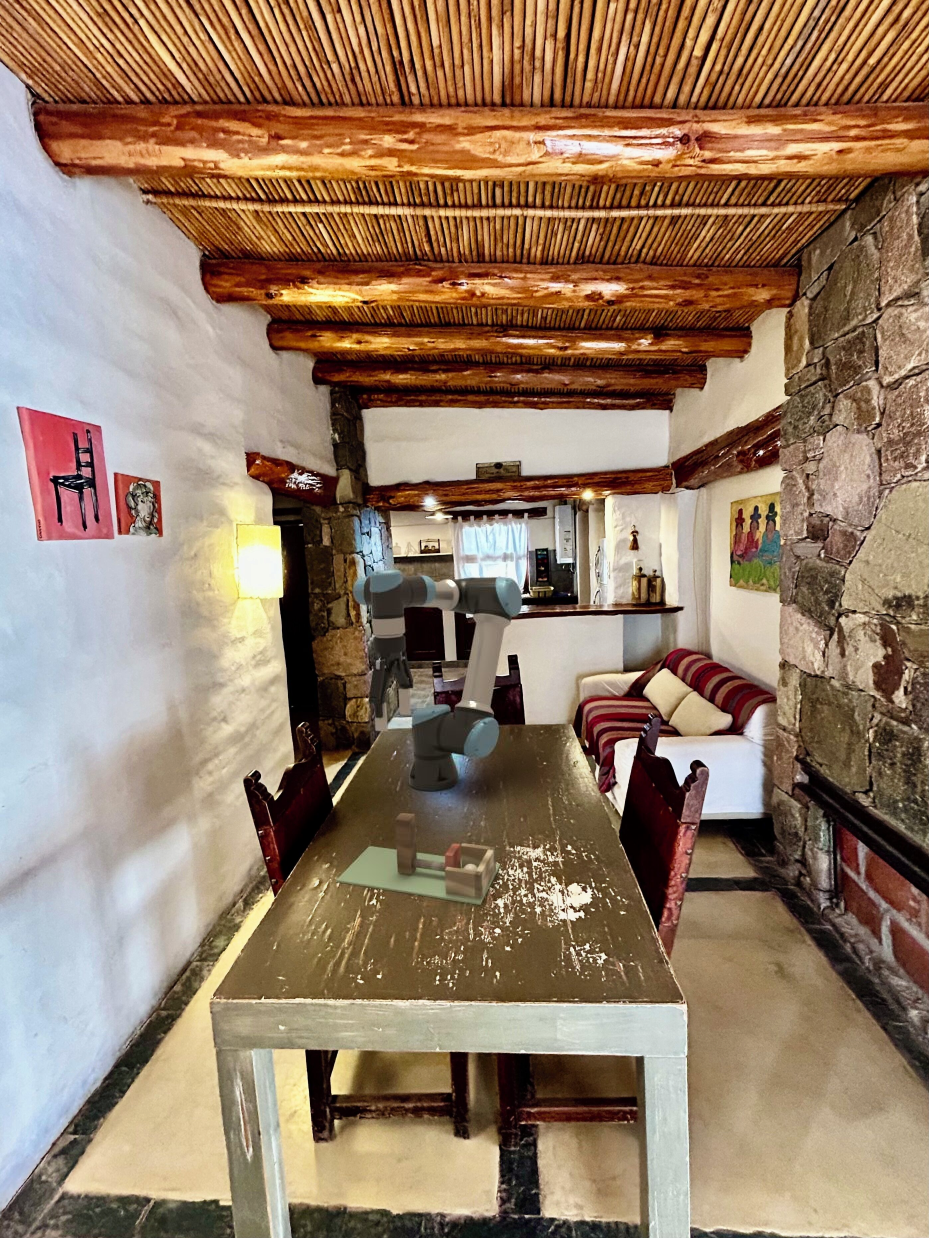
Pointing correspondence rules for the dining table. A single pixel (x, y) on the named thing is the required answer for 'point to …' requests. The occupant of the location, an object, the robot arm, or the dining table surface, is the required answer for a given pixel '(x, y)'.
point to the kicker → (409, 854)
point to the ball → (470, 867)
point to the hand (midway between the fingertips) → (394, 722)
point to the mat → (401, 875)
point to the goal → (471, 871)
